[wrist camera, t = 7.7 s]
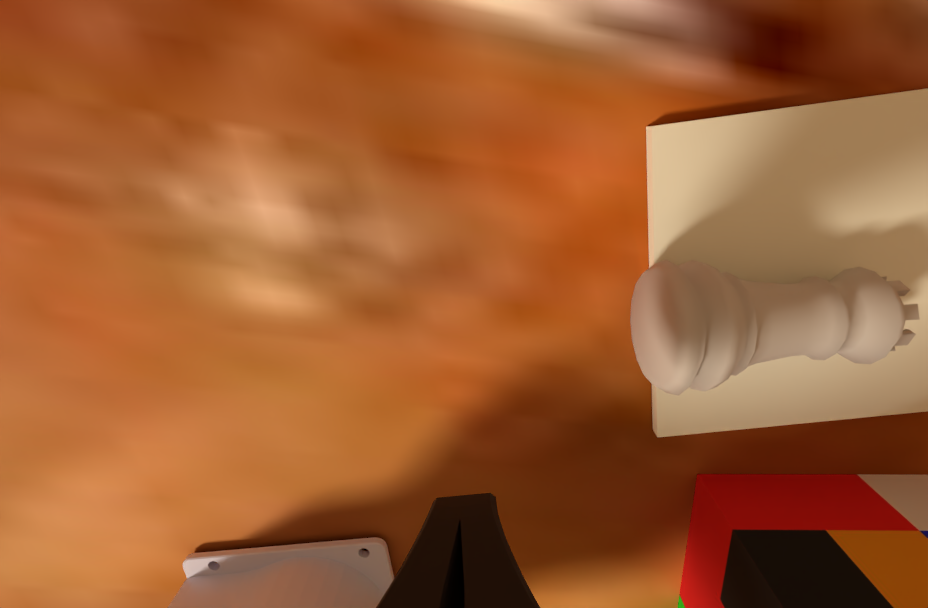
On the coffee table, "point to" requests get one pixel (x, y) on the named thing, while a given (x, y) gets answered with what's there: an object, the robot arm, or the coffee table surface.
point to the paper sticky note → (798, 243)
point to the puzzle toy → (807, 541)
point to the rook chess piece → (758, 322)
